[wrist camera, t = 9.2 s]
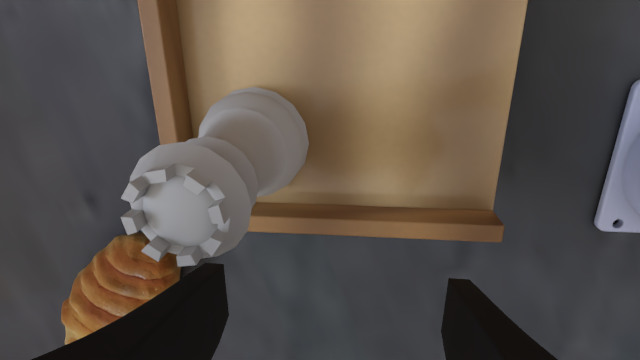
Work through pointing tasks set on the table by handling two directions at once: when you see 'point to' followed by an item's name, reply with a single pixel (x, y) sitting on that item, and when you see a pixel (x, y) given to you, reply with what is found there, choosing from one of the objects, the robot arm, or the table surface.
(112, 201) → the table surface
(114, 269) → the pastry
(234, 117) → the rook chess piece
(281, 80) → the wooden tray
